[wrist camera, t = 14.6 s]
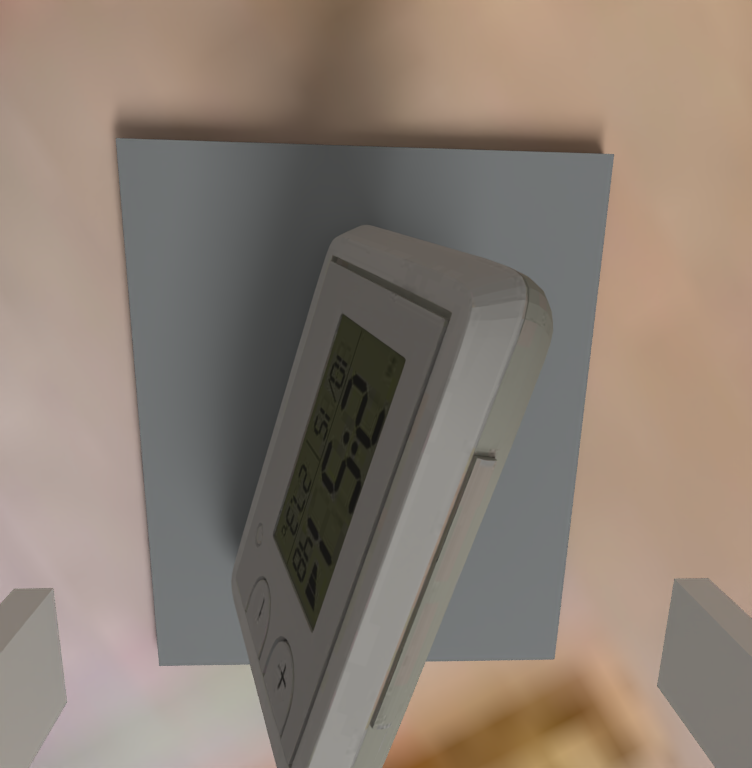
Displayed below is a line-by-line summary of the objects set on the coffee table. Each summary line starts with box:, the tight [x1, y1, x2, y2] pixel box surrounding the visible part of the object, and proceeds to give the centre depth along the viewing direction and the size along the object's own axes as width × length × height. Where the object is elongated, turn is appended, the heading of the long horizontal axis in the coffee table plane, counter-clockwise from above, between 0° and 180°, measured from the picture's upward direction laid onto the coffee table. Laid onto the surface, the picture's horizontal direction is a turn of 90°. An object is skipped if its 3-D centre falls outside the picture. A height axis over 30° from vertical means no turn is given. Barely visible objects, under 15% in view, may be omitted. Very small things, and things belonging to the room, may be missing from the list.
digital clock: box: [231, 225, 553, 768], centre depth 19 cm, size 16×9×11 cm, turn 150°
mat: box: [116, 138, 614, 666], centre depth 25 cm, size 22×18×1 cm
